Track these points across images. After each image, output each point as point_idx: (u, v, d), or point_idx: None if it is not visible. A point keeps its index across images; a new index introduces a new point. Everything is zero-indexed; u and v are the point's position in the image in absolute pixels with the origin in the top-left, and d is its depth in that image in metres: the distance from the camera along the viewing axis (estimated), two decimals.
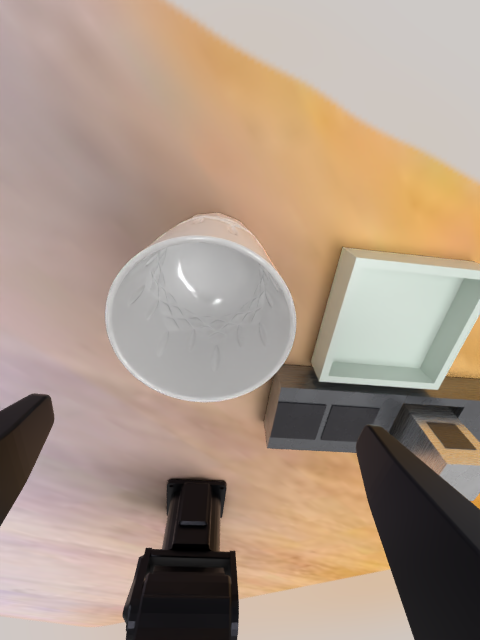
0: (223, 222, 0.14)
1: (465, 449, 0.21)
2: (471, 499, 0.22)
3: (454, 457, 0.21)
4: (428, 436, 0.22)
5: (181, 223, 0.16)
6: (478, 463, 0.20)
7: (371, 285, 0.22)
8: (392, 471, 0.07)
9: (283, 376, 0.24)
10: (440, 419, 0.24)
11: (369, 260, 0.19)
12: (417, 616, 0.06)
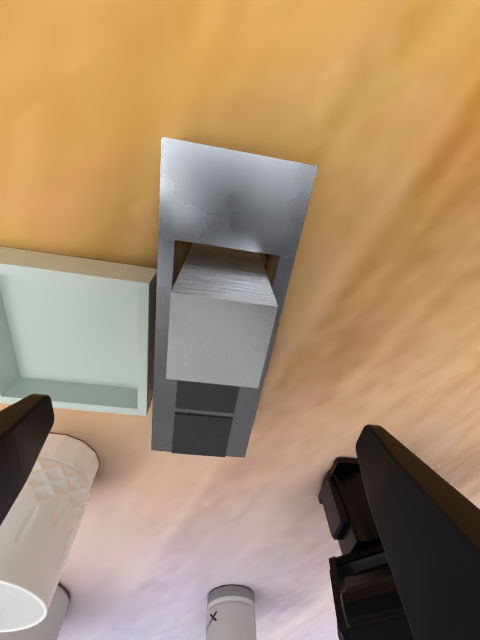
0: None
1: None
2: (273, 311, 0.11)
3: None
4: None
5: None
6: (169, 327, 0.12)
7: (42, 356, 0.20)
8: (392, 471, 0.07)
9: None
10: None
11: None
12: (417, 616, 0.06)
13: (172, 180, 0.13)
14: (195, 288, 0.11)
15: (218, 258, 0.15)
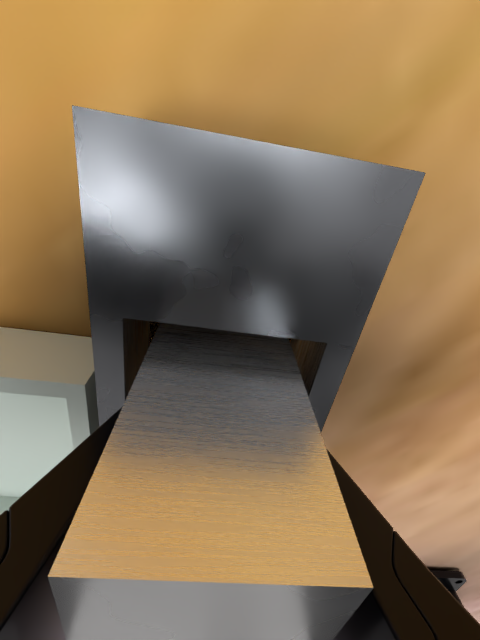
0: None
1: None
2: (357, 595, 0.04)
3: None
4: None
5: None
6: None
7: None
8: None
9: None
10: None
11: None
12: None
13: (106, 204, 0.06)
14: (137, 516, 0.04)
15: (210, 345, 0.08)
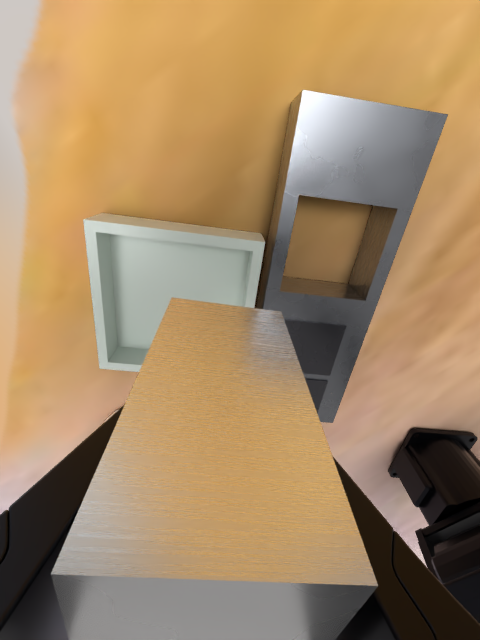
0: None
1: None
2: (361, 593, 0.04)
3: None
4: None
5: None
6: None
7: (141, 324, 0.21)
8: None
9: None
10: None
11: (99, 358, 0.20)
12: None
13: (306, 133, 0.14)
14: (141, 515, 0.04)
15: (212, 344, 0.08)
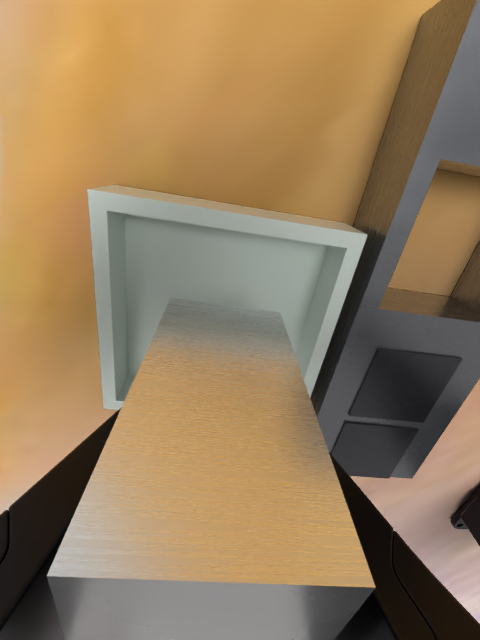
0: None
1: None
2: (358, 595, 0.04)
3: None
4: None
5: None
6: None
7: None
8: None
9: None
10: None
11: (104, 395, 0.14)
12: None
13: (477, 49, 0.08)
14: (138, 515, 0.04)
15: (210, 344, 0.08)
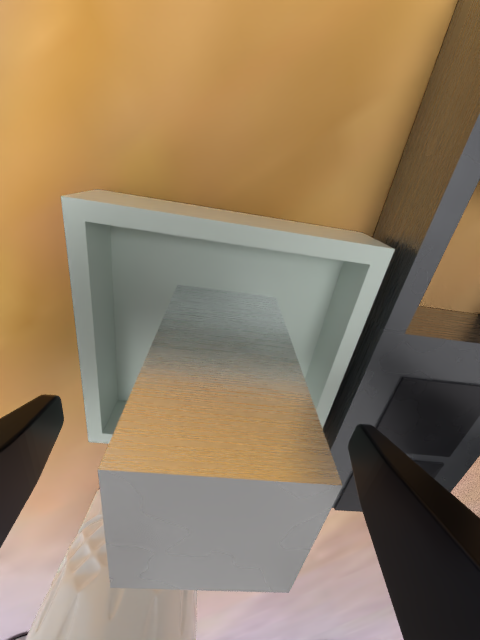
0: None
1: None
2: (330, 493, 0.05)
3: None
4: None
5: None
6: None
7: None
8: (383, 470, 0.07)
9: None
10: None
11: (89, 427, 0.12)
12: (406, 616, 0.06)
13: None
14: (161, 437, 0.05)
15: (214, 322, 0.09)
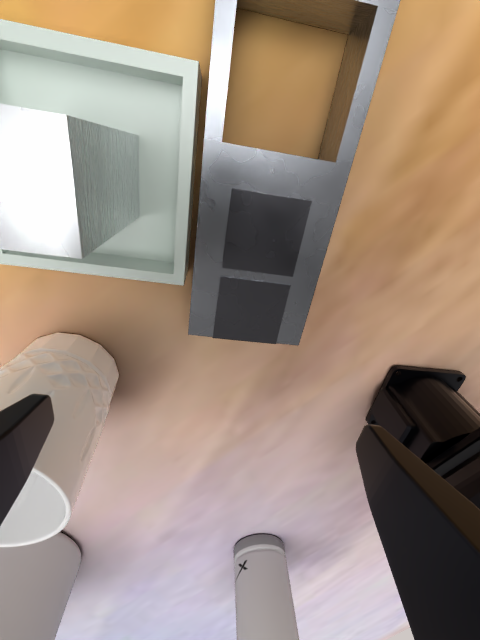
0: None
1: None
2: (61, 123, 0.08)
3: None
4: None
5: None
6: None
7: None
8: (392, 471, 0.07)
9: None
10: None
11: None
12: (417, 616, 0.06)
13: None
14: None
15: None
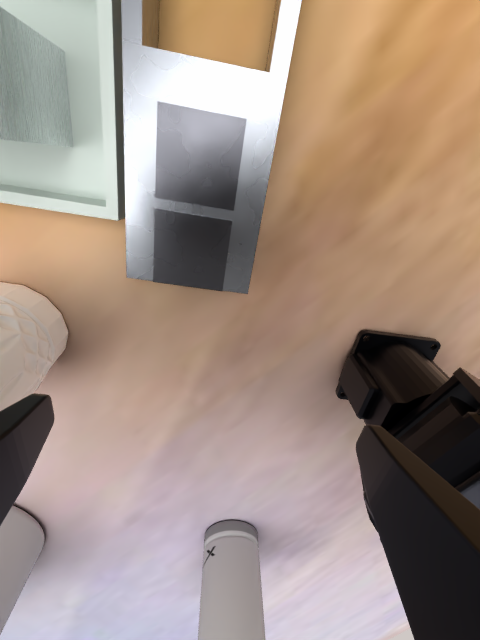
0: None
1: None
2: None
3: None
4: None
5: None
6: None
7: None
8: (392, 471, 0.07)
9: None
10: None
11: None
12: (417, 616, 0.06)
13: None
14: None
15: None
